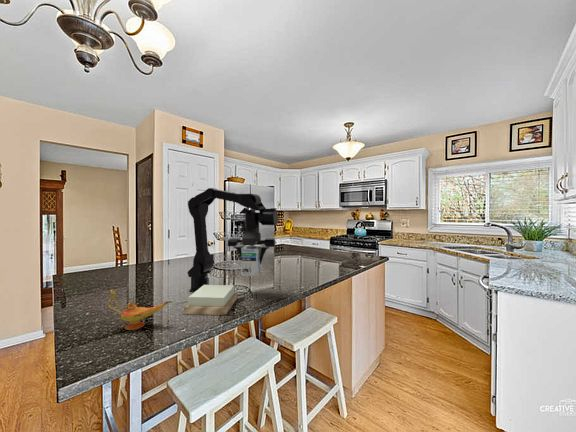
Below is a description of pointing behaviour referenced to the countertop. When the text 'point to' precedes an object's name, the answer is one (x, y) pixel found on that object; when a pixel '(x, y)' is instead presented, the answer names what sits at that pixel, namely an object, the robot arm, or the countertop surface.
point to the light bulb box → (251, 260)
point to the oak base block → (211, 308)
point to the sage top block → (211, 295)
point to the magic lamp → (135, 313)
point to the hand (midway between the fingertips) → (252, 263)
